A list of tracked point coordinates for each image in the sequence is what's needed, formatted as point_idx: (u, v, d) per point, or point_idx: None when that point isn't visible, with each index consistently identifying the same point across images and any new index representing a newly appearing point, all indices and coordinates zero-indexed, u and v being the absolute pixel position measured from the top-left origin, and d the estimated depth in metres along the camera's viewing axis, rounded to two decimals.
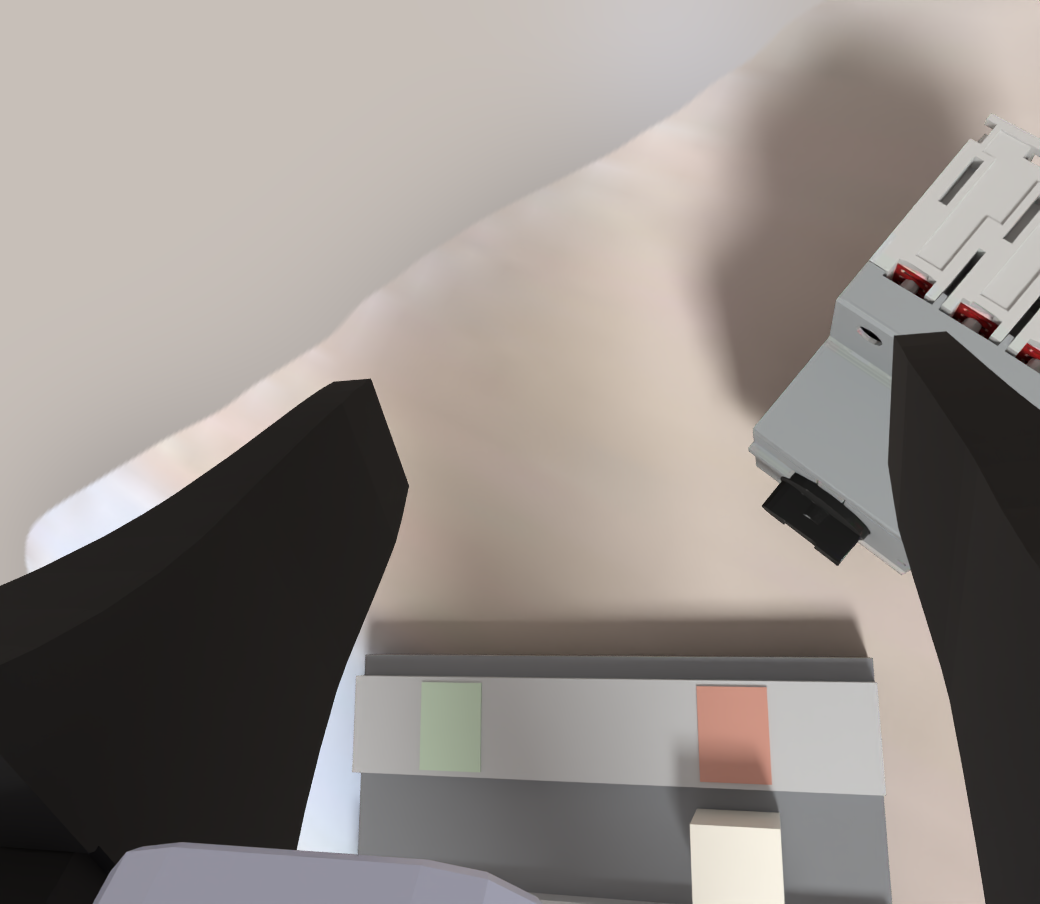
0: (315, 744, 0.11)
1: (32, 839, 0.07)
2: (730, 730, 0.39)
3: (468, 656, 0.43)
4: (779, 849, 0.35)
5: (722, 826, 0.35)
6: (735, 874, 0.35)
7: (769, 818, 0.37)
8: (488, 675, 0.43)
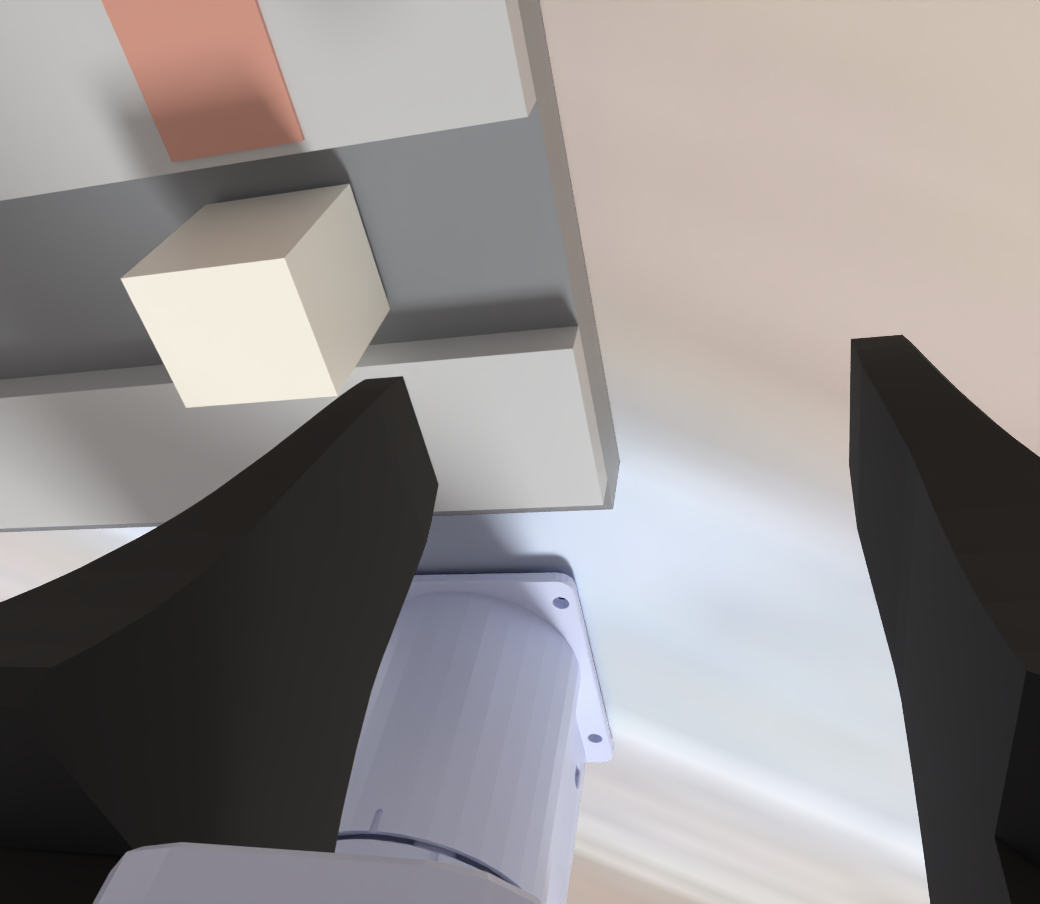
0: (352, 745, 0.11)
1: (82, 843, 0.07)
2: (186, 38, 0.17)
3: None
4: (294, 295, 0.16)
5: (180, 271, 0.17)
6: (234, 349, 0.18)
7: (306, 213, 0.18)
8: None
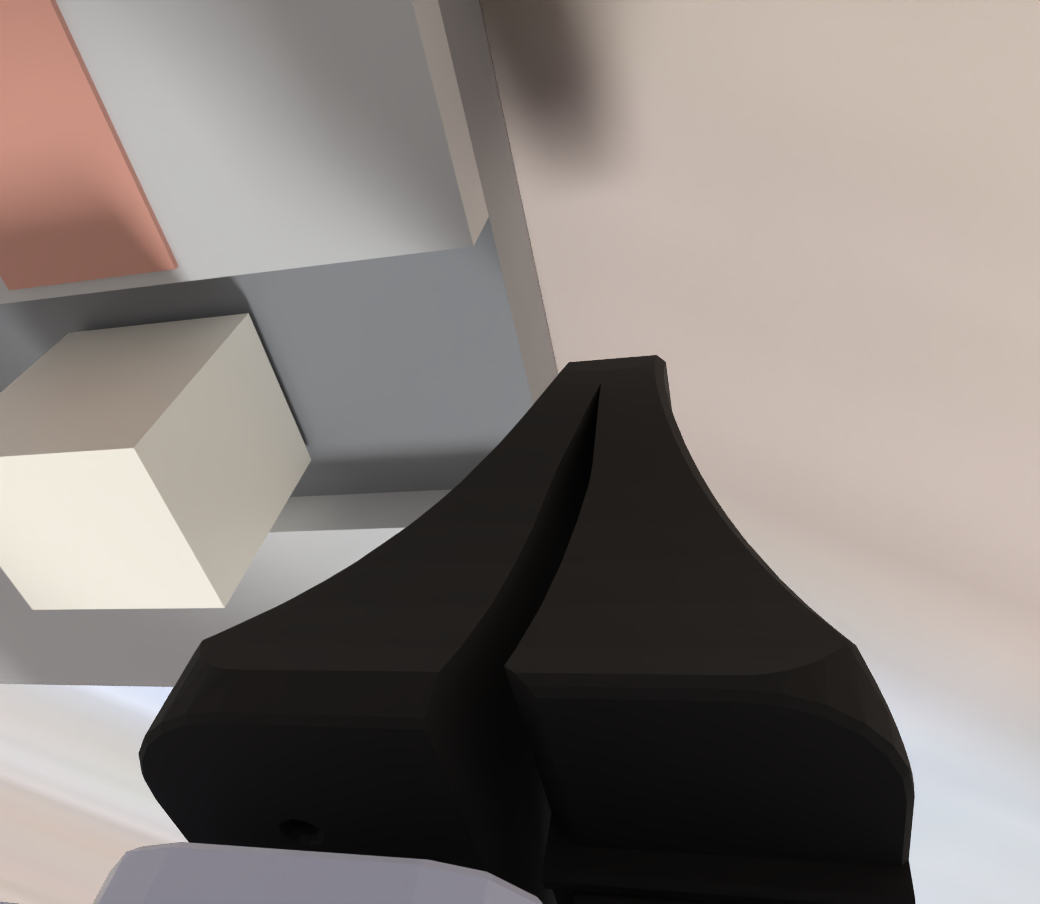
0: None
1: None
2: (6, 137, 0.12)
3: None
4: (153, 492, 0.12)
5: None
6: (83, 550, 0.13)
7: (183, 363, 0.13)
8: None
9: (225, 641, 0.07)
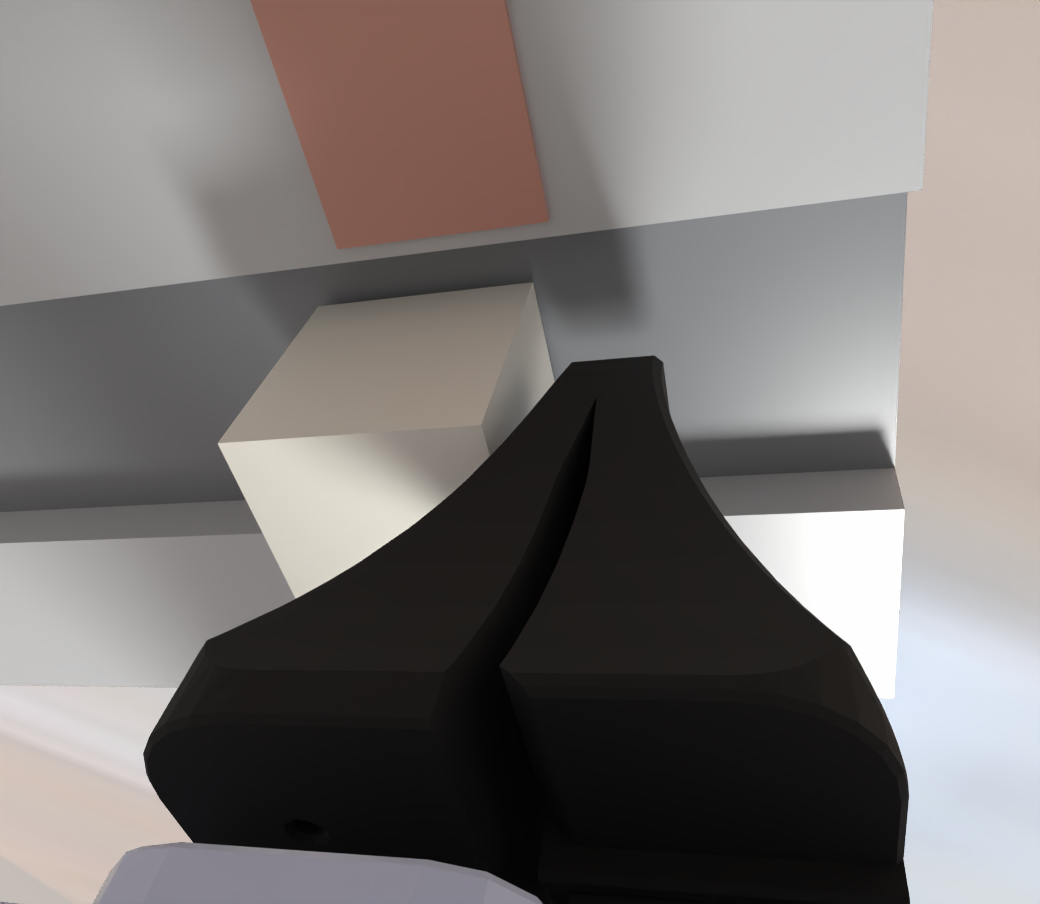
0: None
1: None
2: (383, 69, 0.11)
3: None
4: None
5: (311, 435, 0.11)
6: (382, 541, 0.12)
7: (485, 334, 0.12)
8: None
9: (229, 642, 0.07)
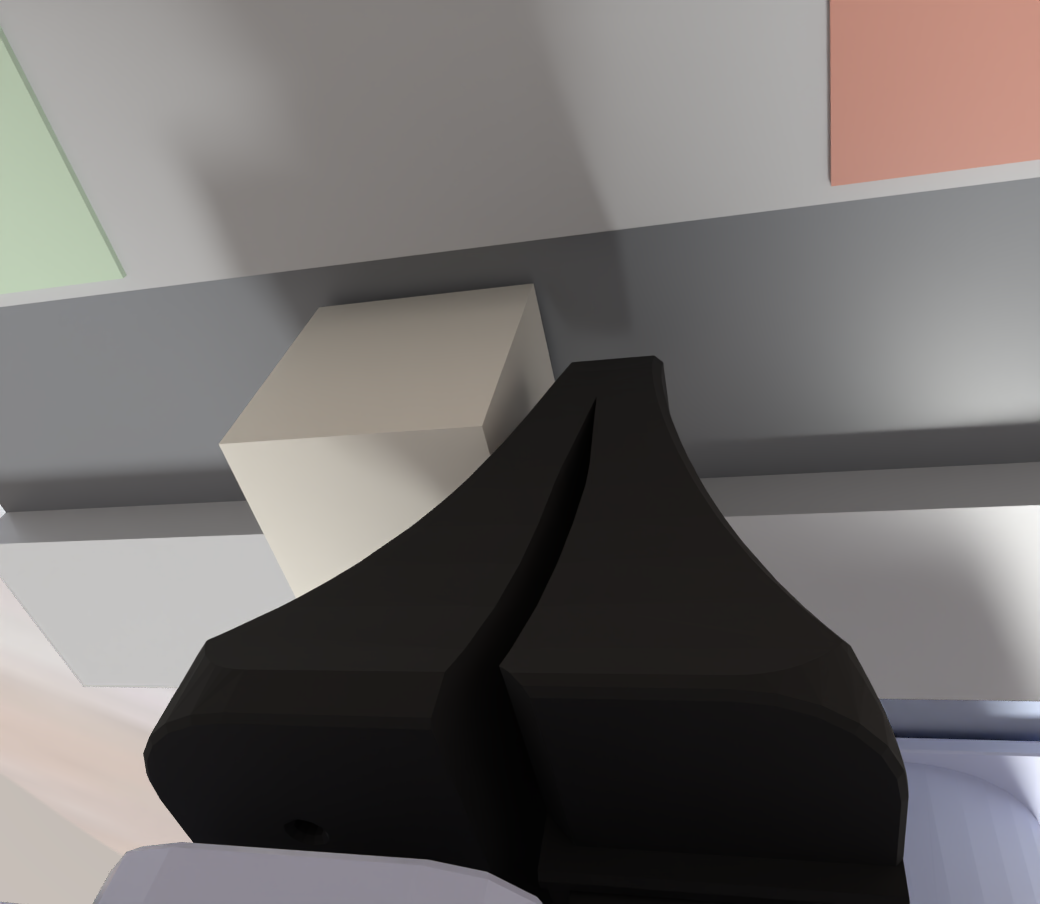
0: None
1: None
2: None
3: None
4: None
5: (312, 436, 0.11)
6: (383, 541, 0.12)
7: (485, 336, 0.12)
8: None
9: (231, 640, 0.07)
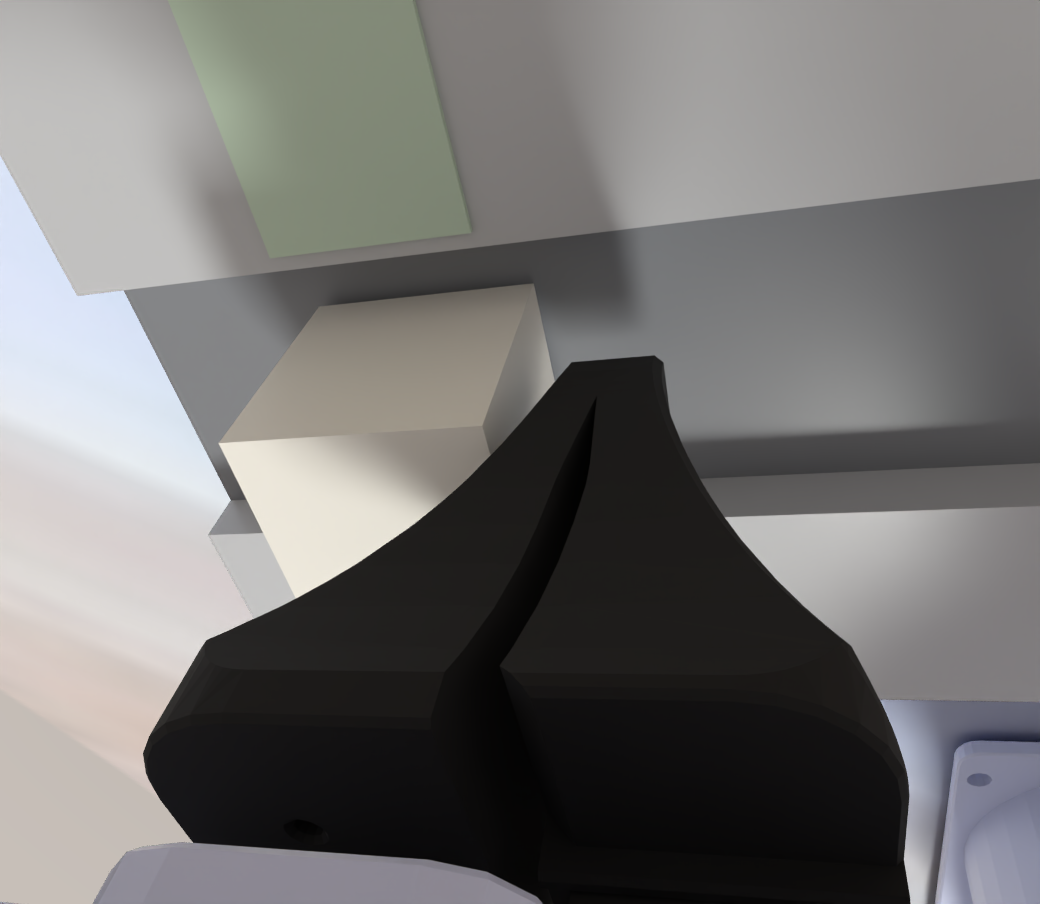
0: None
1: None
2: None
3: None
4: None
5: (312, 436, 0.11)
6: (382, 541, 0.12)
7: (486, 335, 0.12)
8: None
9: (229, 640, 0.07)
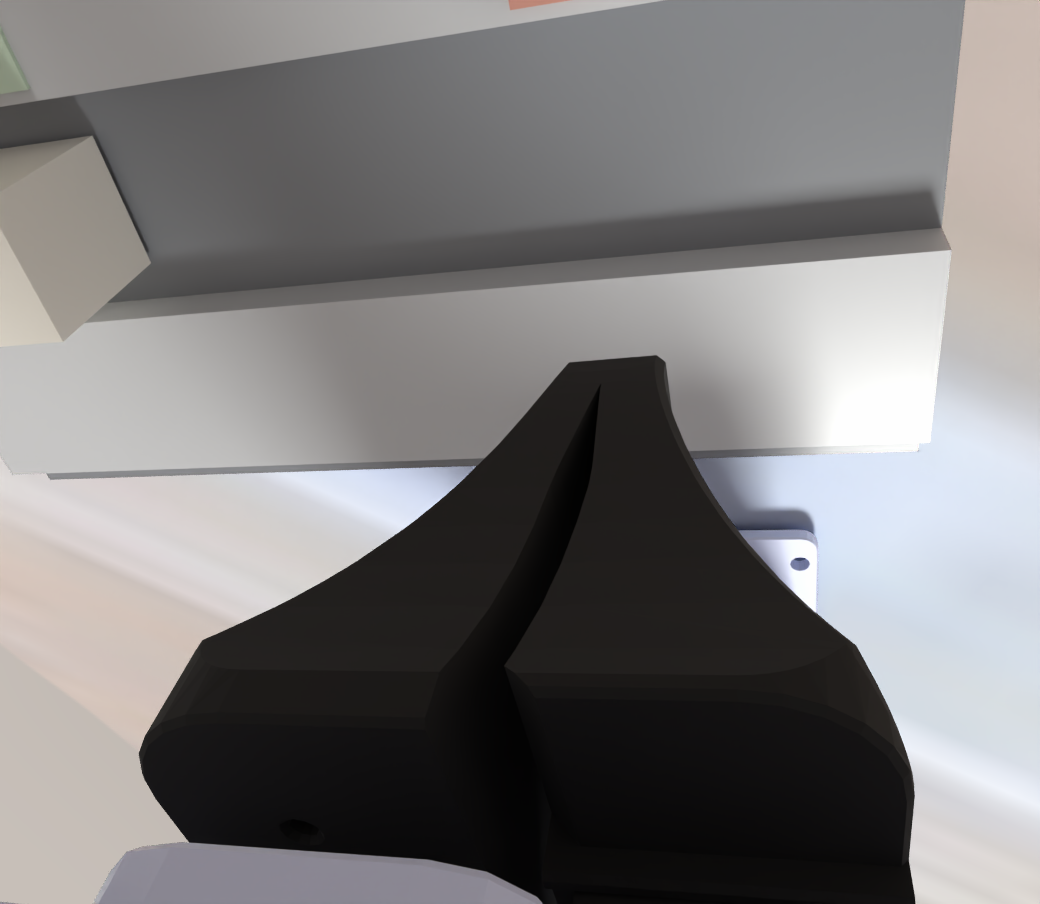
0: None
1: None
2: None
3: None
4: (2, 238, 0.17)
5: None
6: None
7: (35, 161, 0.18)
8: None
9: (225, 640, 0.07)
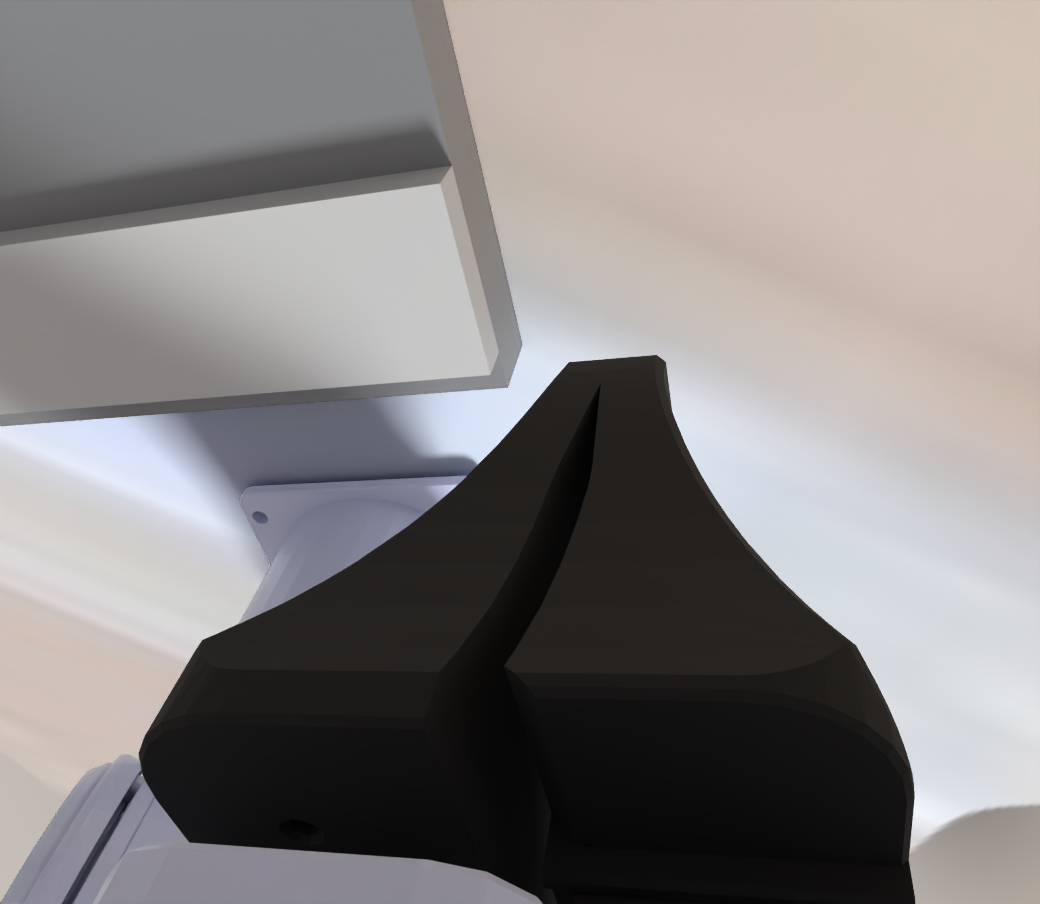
0: None
1: None
2: None
3: None
4: None
5: None
6: None
7: None
8: None
9: (226, 641, 0.07)
